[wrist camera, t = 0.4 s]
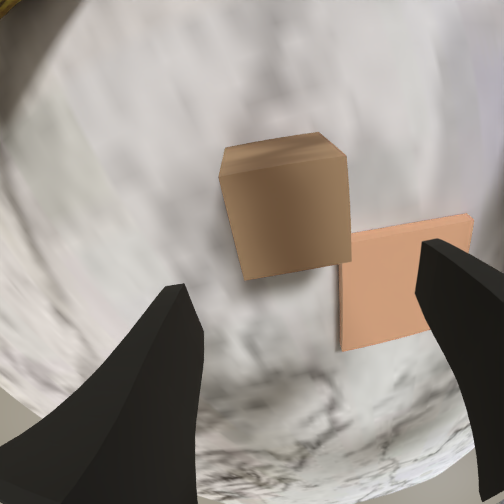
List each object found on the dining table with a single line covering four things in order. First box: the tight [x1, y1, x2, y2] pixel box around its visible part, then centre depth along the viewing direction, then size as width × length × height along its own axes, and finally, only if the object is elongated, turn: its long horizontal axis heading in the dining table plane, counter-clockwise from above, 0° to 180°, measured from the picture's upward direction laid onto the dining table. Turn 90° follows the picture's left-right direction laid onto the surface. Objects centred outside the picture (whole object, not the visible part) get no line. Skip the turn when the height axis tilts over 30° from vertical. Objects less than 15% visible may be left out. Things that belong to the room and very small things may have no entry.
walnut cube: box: [219, 132, 352, 281], centre depth 15 cm, size 5×5×5 cm
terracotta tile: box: [338, 213, 474, 352], centre depth 21 cm, size 10×10×1 cm
